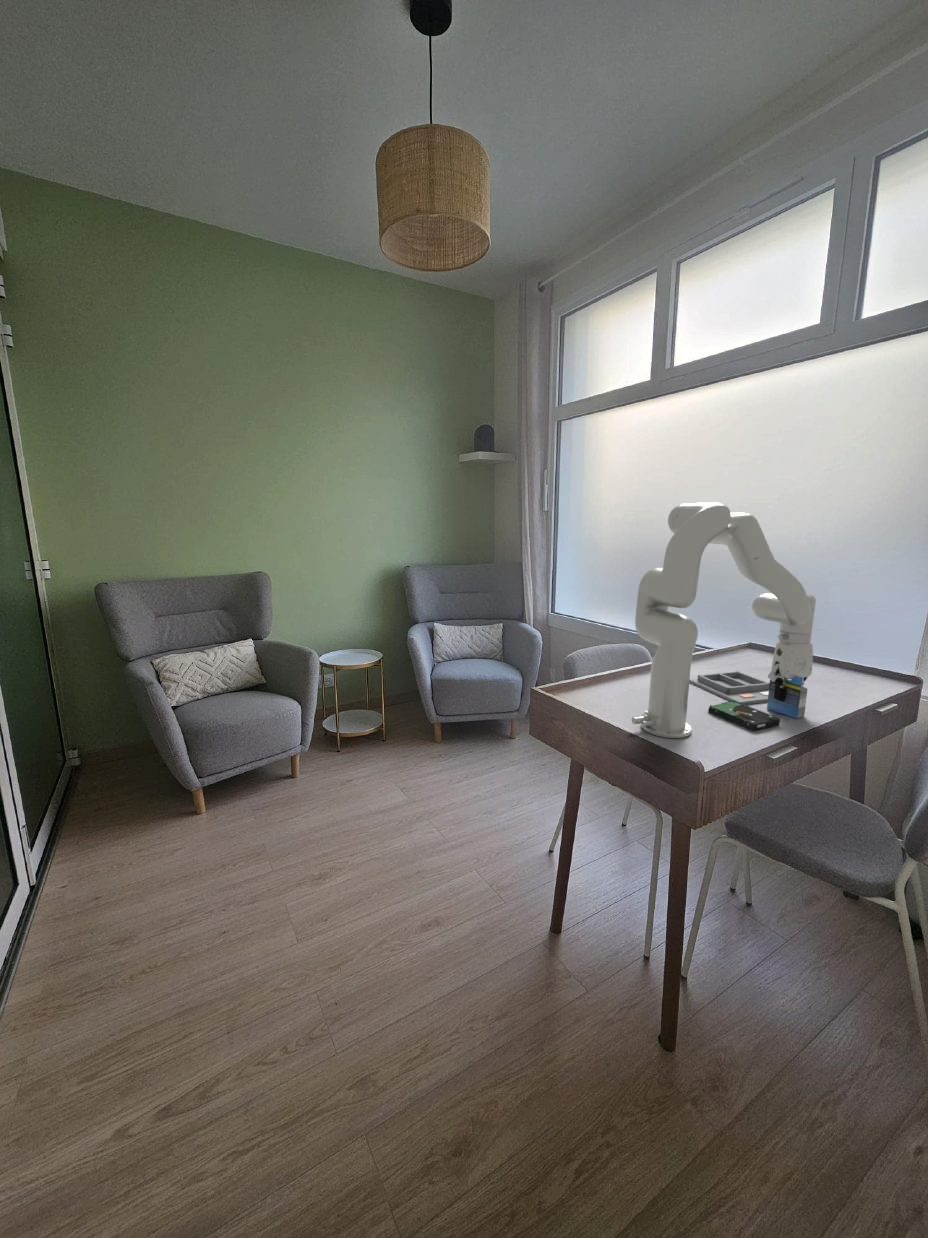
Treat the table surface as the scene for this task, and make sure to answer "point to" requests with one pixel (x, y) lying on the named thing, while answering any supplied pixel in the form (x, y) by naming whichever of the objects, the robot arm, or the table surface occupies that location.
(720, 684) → the grey compartment tray
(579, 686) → the table surface
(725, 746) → the table surface
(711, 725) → the table surface
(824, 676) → the table surface
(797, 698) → the label tape box
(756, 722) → the disk drive
